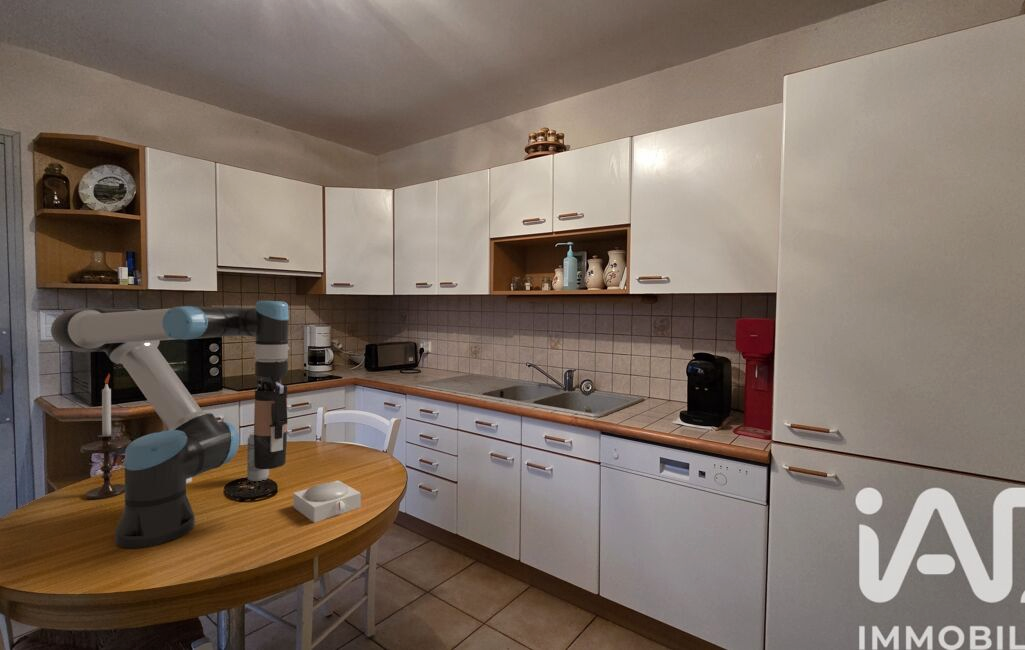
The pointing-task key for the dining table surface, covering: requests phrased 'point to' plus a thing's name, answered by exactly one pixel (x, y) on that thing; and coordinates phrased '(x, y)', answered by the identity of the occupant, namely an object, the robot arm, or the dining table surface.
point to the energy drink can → (253, 472)
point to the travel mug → (266, 433)
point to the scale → (326, 500)
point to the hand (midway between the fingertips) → (270, 446)
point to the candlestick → (106, 451)
